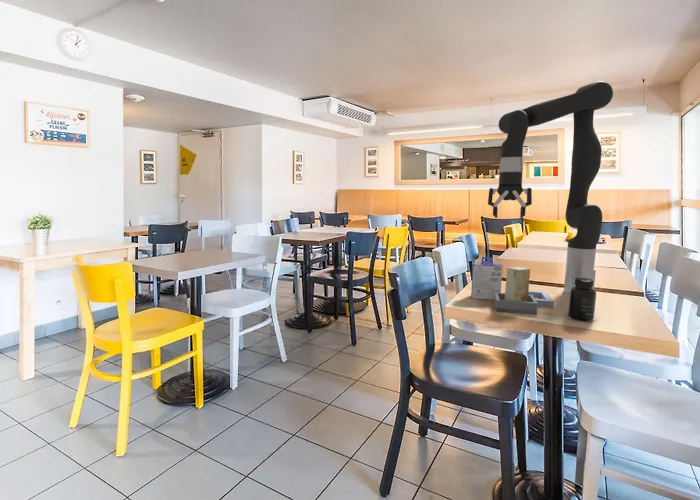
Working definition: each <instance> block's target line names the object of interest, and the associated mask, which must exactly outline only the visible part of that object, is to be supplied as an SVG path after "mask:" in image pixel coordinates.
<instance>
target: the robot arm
mask: <svg viewBox="0 0 700 500" xmlns="http://www.w3.org/2000/svg"><path fill="white" fill-rule="evenodd" d="M613 96H614V90H613V87H612V85H611V84H610V83H608V82H606V81H603V80H602V81H600V80H599V81H594V82H591V83H589V84H585V85H583V86H581V87H579V88H578V89H577V90H576V91H575V92H574V93H571V94H567V95H563V96H561V97H557V98H553V99H548V100H546V101H545V100H544V101H541V102H539V103H536V104H533V105H530V106H528V107H526V108H523V109H516V110H513V111H510V112H507V113H505V114H504V115H502V116H501V117H500V118H499V120H498V129H499V130H500V131H501V133H503V134H507V136H506V139H505V140H504V141H503V142H502V143H501V146H500V147H501V149H500V162H499V172H498V173H499V174H498V186H497V188H493V187H490V188H489V189H488V198H487V199H488V200H487V205H488V206H491V207H492V216H493V217H494V218H498V206H499V204H500V203H501V202H502V201H517V203H519V205H520V206H521V207H520V212H519V218H520V219H524V217H525V216H526V211H527V210H526V209H527V207H528V206H531V205H532V202H533V198H532V196H533V195H532V192H533V191H532V188H531V187H527V188H523V171H524V162H523V161H524V160H523V155H524V152H523V151H524V143H525V140H526V136H527V132H528V129H529V128H531V127H536V126H540V125H543V124H547V123H549V122H552V121H554V120H557V119H560V118H562V117H563V118H564V117H565V116H568V115H571V114H573V116H572V117H573V135H572V136H573V137H572V138H573V141H572V153H571V168H570V169H571V172H570V182H569V183H570V185H569V191H568V198H567V203H566V209H565V221H566V223H567V225H568V226H569V228H573V229H577V230H576V231H577V232H576V234H575V235H574V237H572V238H569V239H568V240H567V250H566V262H565V272H564V273H565V275H564V284H563V292H564V293H565V294H568V295H570V290H571V288H572V287H574V286H575V285H574V283H575V278H588V279H592V280H594V282H593V287H592V288H593V289H594V290H595V283H596V282H595V281H596V275H597V274H596V272H597V270H596V269H595V263H596V262H595V261H596V251H597V244H598V243H599V242H600V238H601V233H602V232H601V231H602V226H603V212H602V209H601V208H600V207H599V206H598V205H596V204H592V203H590V204H588V195H589V190H590V187H592V186H591V185H592V183H593V182H594V180H595V179H596V177H597V175H598V173H599V170H600V168H601V165H602V164H601V163H602V153H603V152H602V145H601V142H600V140H599V137H598V136H597V133H596V131H595V128H594V113H595V111H596V110H601V109H603V108H605V107H607V105H609V104H610V103H611V101H612V99H613ZM496 192H497V194H498V195H499V197H497V199H496V200H495V201H494V202H493V195H495V194H496ZM523 192H524V195H526V202H524V200H523V198H522V197H521V195H522V193H523Z"/></svg>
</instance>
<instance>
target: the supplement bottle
mask: <svg viewBox="0 0 700 500" xmlns="http://www.w3.org/2000/svg"><path fill="white" fill-rule="evenodd" d="M593 282H594V280H592V279H588V278H575V283H574V285H575V286H574V287H572V288H571V290H570V294H569V297H568V299H569V302H568V311H567V315H568V316H567V317H569V318H570V319H571V320H574V321H579V322H591V321H594V319H595V310H596V302H597V300H596V299H597V291H596V289H595V288H594V289H593V288H592V287H593Z"/></svg>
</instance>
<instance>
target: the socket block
mask: <svg viewBox="0 0 700 500" xmlns="http://www.w3.org/2000/svg"><path fill="white" fill-rule="evenodd" d="M528 295H533V296H534V298H535V299H536V301H537V303H538V307H541V308H543V307H545V308H554V307H555V301H554V300H553V298H552V296H550V294H549V293H548V292H547V291H543V290H542V291H541V290H529V291H528Z"/></svg>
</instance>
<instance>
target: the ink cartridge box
mask: <svg viewBox="0 0 700 500" xmlns="http://www.w3.org/2000/svg"><path fill="white" fill-rule="evenodd" d="M502 276H503V265H502V264H501V263H493V257H491V256H481V263H480V262H472V269H471V293H470V298H471V299H476V300H477V299H478V300H493V301H494V293H495V292H497V293H502V280H503V279H502V278H503V277H502Z"/></svg>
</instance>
